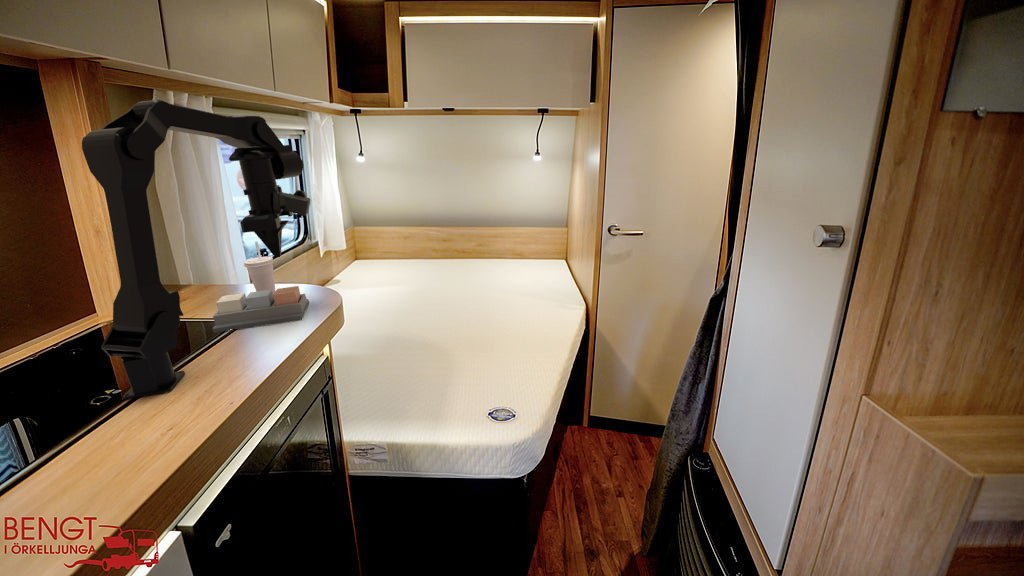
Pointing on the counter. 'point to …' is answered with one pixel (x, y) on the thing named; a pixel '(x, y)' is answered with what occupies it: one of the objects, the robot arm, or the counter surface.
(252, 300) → the key slate
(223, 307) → the key ivory
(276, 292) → the key terracotta
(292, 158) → the robot arm
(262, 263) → the smoothie
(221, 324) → the keypad
